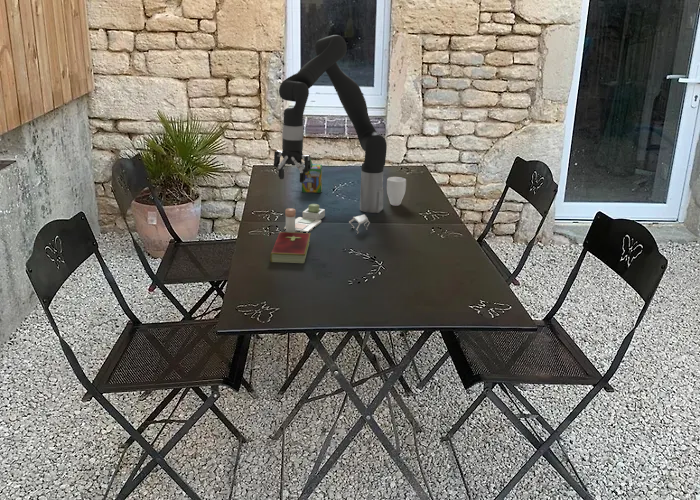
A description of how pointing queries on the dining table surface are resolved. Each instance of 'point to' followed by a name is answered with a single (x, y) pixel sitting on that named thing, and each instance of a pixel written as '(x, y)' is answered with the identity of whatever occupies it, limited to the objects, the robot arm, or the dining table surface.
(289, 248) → the hardcover book
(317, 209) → the button
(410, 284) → the dining table surface
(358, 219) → the origami figure
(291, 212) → the marker
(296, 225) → the colouring board
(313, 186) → the chalk box
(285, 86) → the robot arm
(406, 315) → the dining table surface
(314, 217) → the button housing
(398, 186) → the mug
